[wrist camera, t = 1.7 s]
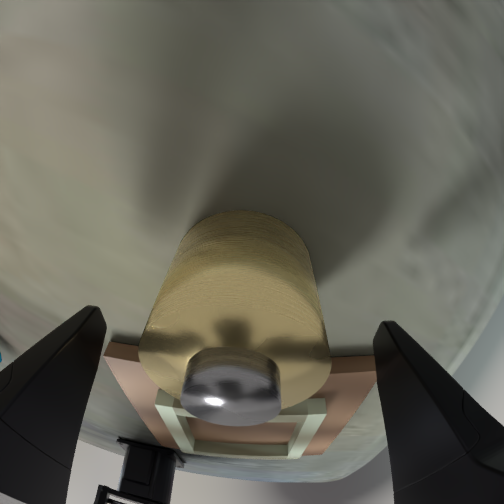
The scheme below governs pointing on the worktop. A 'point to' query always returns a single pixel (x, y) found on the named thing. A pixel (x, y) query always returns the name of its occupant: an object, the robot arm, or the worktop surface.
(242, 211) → the tan two-tone cylinder
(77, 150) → the worktop surface
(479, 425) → the robot arm
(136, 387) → the carrier board
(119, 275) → the worktop surface
